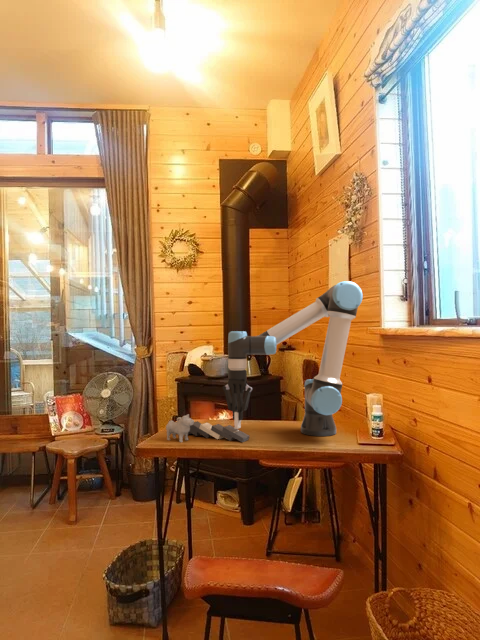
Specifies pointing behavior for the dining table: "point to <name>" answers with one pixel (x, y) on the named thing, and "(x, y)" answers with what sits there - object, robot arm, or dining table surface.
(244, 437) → the domino
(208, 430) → the cream domino
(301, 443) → the dining table surface
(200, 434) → the domino
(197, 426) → the domino
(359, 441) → the dining table surface
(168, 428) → the grey dog figurine
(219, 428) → the domino
